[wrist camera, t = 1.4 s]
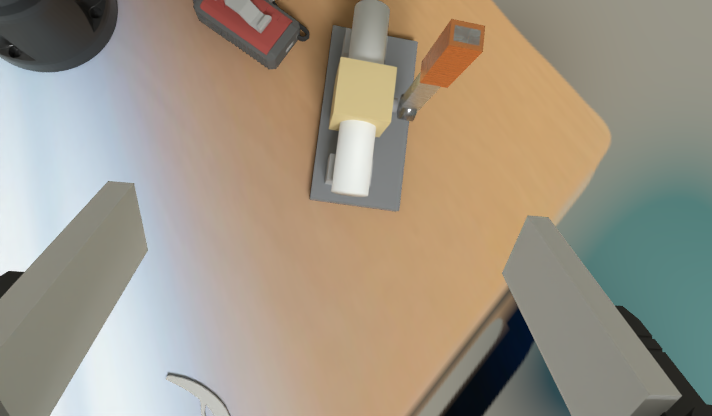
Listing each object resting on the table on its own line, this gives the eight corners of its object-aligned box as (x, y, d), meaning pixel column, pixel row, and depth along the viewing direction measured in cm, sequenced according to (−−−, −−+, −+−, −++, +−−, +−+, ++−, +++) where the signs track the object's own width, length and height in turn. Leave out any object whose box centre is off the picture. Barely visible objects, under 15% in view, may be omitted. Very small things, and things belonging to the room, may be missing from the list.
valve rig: (396, 211, 51) (420, 204, 41) (309, 199, 50) (313, 189, 40) (414, 47, 53) (441, 3, 44) (332, 31, 52) (340, -18, 42)
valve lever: (413, 125, 47) (482, 56, 29) (391, 121, 46) (448, 50, 29) (416, 101, 47) (485, 20, 30) (394, 97, 47) (452, 13, 29)
